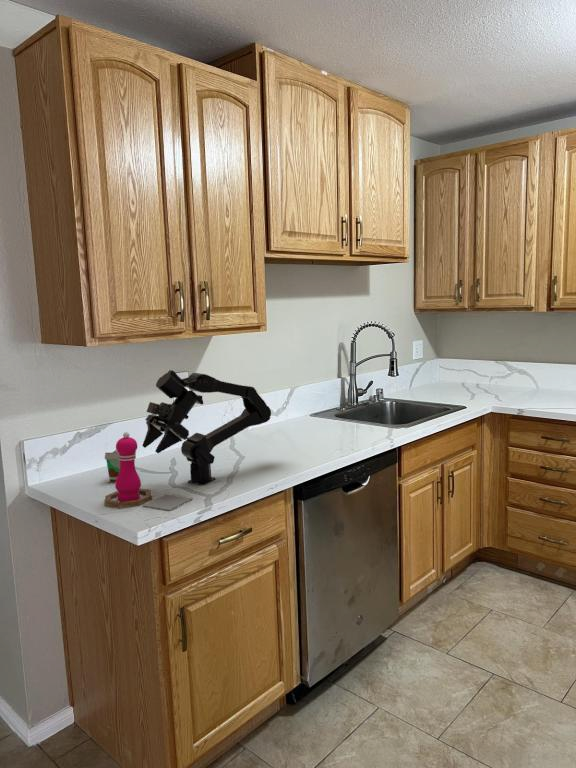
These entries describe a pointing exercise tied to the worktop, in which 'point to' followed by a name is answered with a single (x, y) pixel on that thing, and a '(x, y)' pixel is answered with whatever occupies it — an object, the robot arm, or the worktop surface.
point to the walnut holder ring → (128, 503)
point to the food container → (113, 465)
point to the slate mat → (167, 502)
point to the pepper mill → (127, 470)
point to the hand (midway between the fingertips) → (149, 449)
